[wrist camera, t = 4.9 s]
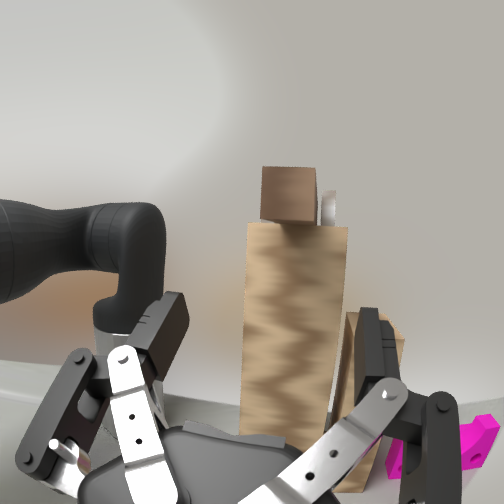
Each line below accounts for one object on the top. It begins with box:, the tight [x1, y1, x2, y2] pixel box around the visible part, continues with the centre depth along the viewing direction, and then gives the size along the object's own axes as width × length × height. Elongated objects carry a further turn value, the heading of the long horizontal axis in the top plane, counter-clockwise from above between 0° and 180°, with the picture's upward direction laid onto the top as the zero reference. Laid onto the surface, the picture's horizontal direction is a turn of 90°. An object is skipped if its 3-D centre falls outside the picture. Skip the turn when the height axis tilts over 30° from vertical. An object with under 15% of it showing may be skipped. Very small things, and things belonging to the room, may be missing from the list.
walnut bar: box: [260, 166, 318, 226], centre depth 30 cm, size 3×24×3 cm, turn 168°
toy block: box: [385, 414, 500, 479], centre depth 31 cm, size 15×6×8 cm, turn 78°
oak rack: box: [239, 190, 404, 493], centre depth 33 cm, size 16×10×34 cm, turn 78°
